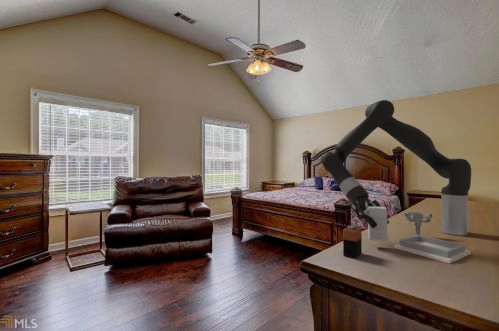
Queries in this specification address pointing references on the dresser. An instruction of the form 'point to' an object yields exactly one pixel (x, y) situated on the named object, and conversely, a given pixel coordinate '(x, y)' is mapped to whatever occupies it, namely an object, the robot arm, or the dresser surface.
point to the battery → (352, 241)
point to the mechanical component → (417, 219)
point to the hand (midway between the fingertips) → (381, 225)
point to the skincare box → (378, 223)
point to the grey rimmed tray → (433, 248)
